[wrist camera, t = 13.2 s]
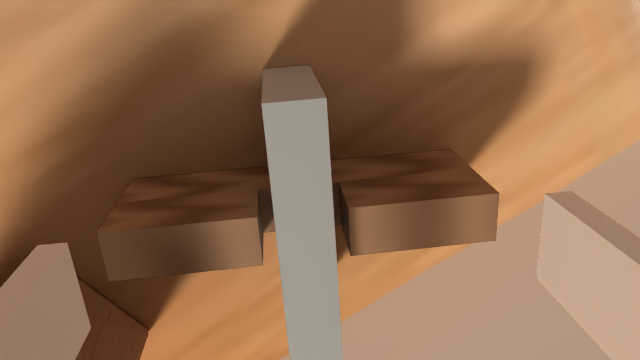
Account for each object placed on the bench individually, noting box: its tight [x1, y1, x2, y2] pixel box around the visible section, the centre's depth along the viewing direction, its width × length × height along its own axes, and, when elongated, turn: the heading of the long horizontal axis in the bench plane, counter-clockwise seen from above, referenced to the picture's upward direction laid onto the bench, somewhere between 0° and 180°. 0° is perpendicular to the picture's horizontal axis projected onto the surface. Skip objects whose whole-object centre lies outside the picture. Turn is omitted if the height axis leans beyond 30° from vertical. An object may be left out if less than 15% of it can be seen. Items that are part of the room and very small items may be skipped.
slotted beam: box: [96, 149, 499, 282], centre depth 32 cm, size 22×3×8 cm, turn 94°
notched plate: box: [261, 65, 343, 360], centre depth 31 cm, size 3×16×10 cm, turn 4°
